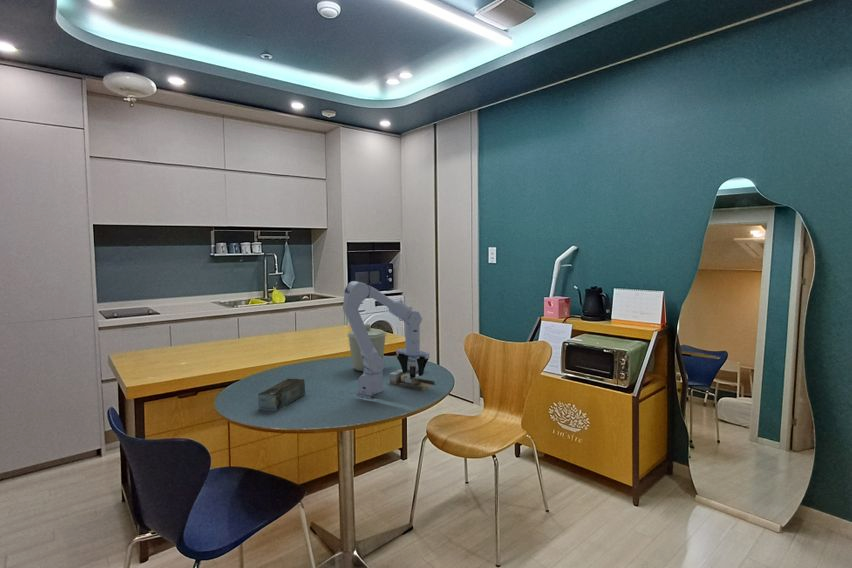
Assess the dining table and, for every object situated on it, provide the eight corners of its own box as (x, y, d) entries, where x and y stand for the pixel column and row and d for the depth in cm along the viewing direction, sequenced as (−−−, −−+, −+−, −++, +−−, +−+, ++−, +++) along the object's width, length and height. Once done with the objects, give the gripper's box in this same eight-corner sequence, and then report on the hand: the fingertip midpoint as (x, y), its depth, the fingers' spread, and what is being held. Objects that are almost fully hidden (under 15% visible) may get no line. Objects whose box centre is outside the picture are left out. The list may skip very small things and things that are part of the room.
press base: (422, 394, 173) (422, 380, 172) (385, 387, 182) (385, 374, 181) (435, 387, 181) (435, 374, 181) (400, 381, 190) (399, 368, 190)
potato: (407, 385, 180) (406, 377, 180) (398, 383, 182) (398, 376, 182) (412, 382, 183) (412, 375, 183) (404, 380, 185) (404, 373, 185)
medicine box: (401, 372, 203) (401, 353, 202) (406, 370, 207) (406, 351, 206) (416, 375, 199) (416, 355, 198) (421, 372, 203) (421, 353, 202)
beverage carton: (257, 410, 158) (256, 392, 158) (288, 393, 177) (287, 376, 176) (277, 412, 156) (276, 393, 156) (306, 394, 174) (305, 378, 174)
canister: (353, 363, 220) (352, 320, 218) (390, 364, 218) (389, 320, 216) (343, 373, 202) (342, 327, 200) (383, 374, 200) (382, 327, 198)
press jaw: (411, 386, 177) (410, 368, 176) (404, 385, 178) (404, 367, 178) (420, 381, 183) (420, 364, 182) (414, 380, 184) (414, 363, 184)
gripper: (433, 340, 179) (433, 374, 180) (403, 336, 186) (403, 369, 188) (423, 343, 173) (424, 378, 174) (393, 339, 180) (393, 373, 182)
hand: (412, 374), depth 180 cm, fingers open, 7 cm apart
